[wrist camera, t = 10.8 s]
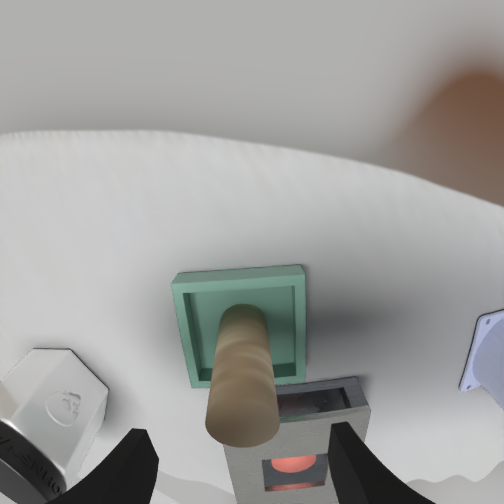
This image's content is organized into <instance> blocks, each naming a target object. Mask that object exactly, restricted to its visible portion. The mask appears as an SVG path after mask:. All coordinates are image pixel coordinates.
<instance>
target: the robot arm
mask: <svg viewBox="0 0 504 504" xmlns="http://www.w3.org/2000/svg"><path fill="white" fill-rule="evenodd" d="M479 386H483V388H484V389H485V390H486V391H487V392H488V393H489V394H490V395H491V397H492V398H493V399H494V400H495V401H496V402H497V403H498V405H499V406H500V407H501V408H502V409H503V410H504V310H503V311H499V312H495V313H492V314H488V315H484V316H481V317H480V318H479V320H478V323H477V327H476V332H475V336H474V340H473V344H472V347H471V351H470V355H469V358H468V362H467V365H466V368H465V372H464V375H463V378H462V381H461V384H460V387H459V390H460V392H465V391H468V390H471V389H474V388H476V387H479ZM327 456H328V462H329V468H330V474H331V478H332V481H333V485H334V488H335V491H336V495H337V498H338V501H339V504H435V503H434V502H432V501H430V500H428V499H427V498H425V497H423V496H422V495H420V494H419V493H417V492H416V491H414V490H412V489H411V488H410V487H408V486H407V485H406V484H405V483H403V482H402V481H401V480H400V479H399V478H397V477H396V476H395V475H394V474H393V473H392V472H391V471H390V470H389V469H387V468H386V467H385V466H384V465H383V464H382V463H381V462H380V461H379V460H378V458H377V457H376V456H375V455H374V454H373V453H372V452H371V451H370V450H369V448H368V447H367V446H366V445H365V444H364V442H363V441H362V440H361V439H360V437H359V436H358V435H357V433H356V432H355V431H354V429H353V428H352V426H351V425H350V424H349V422H347V421H345V422H339V423H333V424H331V430H330V438H329V446H328V453H327ZM158 464H159V458H158V456H157V454H156V452H155V449H154V447H153V445H152V442H151V440H150V438H149V435H148V433H147V430H146V429H135V428H132V429H131V430H130V431H129V432H128V433H127V435H126V436H125V437H124V438H123V439H122V440H121V441H120V443H119V444H118V445H117V446H116V447H115V448H114V449H113V450H112V451H111V452H110V454H109V455H108V456H107V457H106V458H105V459H104V460H103V461H102V462H101V463H100V464H99V465H98V466H97V467H96V468H95V469H94V470H93V471H91V472H90V473H89V474H88V475H87V476H86V477H85V478H84V479H82V480H81V481H80V482H79V483H78V484H76V485H75V486H73V487H72V488H71V489H69V490H68V491H66V492H65V493H63V494H61V495H60V496H58V497H56V498H55V499H53V500H51V501H49V502H47V503H45V504H149V503H150V500H151V496H152V493H153V489H154V486H155V482H156V478H157V471H158Z"/></svg>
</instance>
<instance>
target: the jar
mask: <svg viewBox="0 0 504 504" xmlns="http://www.w3.org/2000/svg"><path fill="white" fill-rule="evenodd" d="M107 396H108V388H107V387H106V386H105V385H104V384H103V383H102V382H101V381H100V380H99V379H98V378H97V377H96V376H95V375H94V374H93V373H92V372H91V371H90V370H89V369H88V368H87V367H86V366H85V365H84V364H83V363H82V362H81V361H80V360H79V359H78V358H77V357H76V355H75V354H74V353H73V352H72V351H71V350H58V349H32V350H31V351H30V352H29V353H28V354H27V355H26V356H25V357H24V358H23V359H22V360H21V361H20V362H19V363H18V364H17V365H16V366H15V367H14V368H13V369H12V370H11V371H10V372H9V373H8V374H7V375H6V376H5V377H4V378H3V379H2V380H1V381H0V492H1V493H3V494H4V495H5V496H7V497H8V498H10V499H11V500H13V501H14V502H16V503H17V504H45V503H47V502H49V501H51V500H53V499H55V498H56V497H58V496H60V495H61V494H63V493H65V492H66V491H68V490H69V489H71V487H72V484H73V482H74V480H75V478H76V476H77V474H78V472H79V470H80V468H81V466H82V463H83V461H84V459H85V457H86V455H87V453H88V451H89V449H90V447H91V445H92V443H93V441H94V439H95V437H96V435H97V433H98V431H99V429H100V427H101V425H102V423H103V421H104V415H105V409H106V402H107Z"/></svg>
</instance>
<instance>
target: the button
mask: <svg viewBox="0 0 504 504" xmlns="http://www.w3.org/2000/svg"><path fill="white" fill-rule="evenodd" d="M315 461H316V455H309V456H301V457H292V458H281V459H271V462H272V466H273V467H274V468H275V469H276V470H278V471H281V472H286V473H294V472H299V471H303V470H305V469H307V468H309V467H311V466H312V465H313V464H314V463H315Z"/></svg>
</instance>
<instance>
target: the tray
mask: <svg viewBox="0 0 504 504" xmlns="http://www.w3.org/2000/svg"><path fill="white" fill-rule="evenodd" d="M171 287H172V293H173V298H174V304H175V310H176V315H177V321H178V326H179V331H180V336H181V341H182V346H183V351H184V356H185V360H186V365H187V370H188V374H189V379H190V383H191V387H192V388H210V385H211V378H212V371H213V365H214V358H215V351H216V345H217V338H218V332H219V325H220V319H221V317H222V315H223V313H224V312H225V311H226V310H227V309H228V308H230V307H231V306H234V305H237V304H250V305H253V306H255V307H257V308H258V309H260V310H261V311H262V313H263V314H264V316H265V318H266V322H267V329H268V336H269V344H270V351H271V359H272V366H273V374H274V381H275V385H278V384H289V383H299V382H305V379H306V298H305V273H304V271H303V269H302V267H301V265H287V266H274V267H260V268H247V269H233V270H219V271H204V272H189V273H178V274H177V276H176V277H175V279H174V280H173V282H172V283H171Z"/></svg>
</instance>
